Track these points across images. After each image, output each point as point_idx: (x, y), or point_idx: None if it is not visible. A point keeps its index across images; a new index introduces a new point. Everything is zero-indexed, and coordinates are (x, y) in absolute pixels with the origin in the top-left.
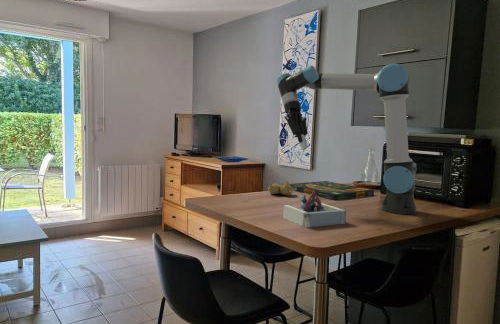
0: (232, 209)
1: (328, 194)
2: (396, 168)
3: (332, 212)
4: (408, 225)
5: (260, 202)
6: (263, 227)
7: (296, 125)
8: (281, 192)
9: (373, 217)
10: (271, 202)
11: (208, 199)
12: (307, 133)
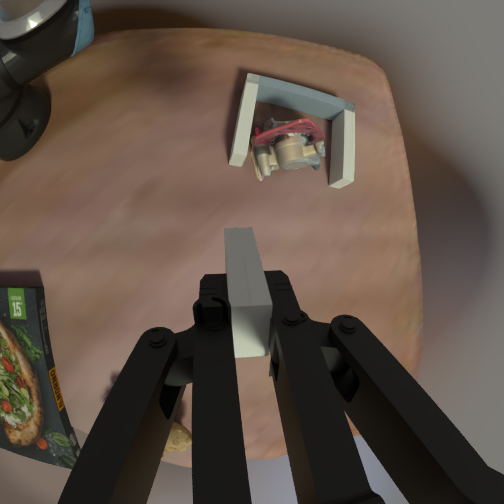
0: (389, 303)
1: (39, 313)
2: None
3: (288, 83)
4: (135, 39)
5: None
6: (403, 160)
7: (344, 430)
8: None
9: (129, 94)
10: None
11: None
12: (141, 336)
